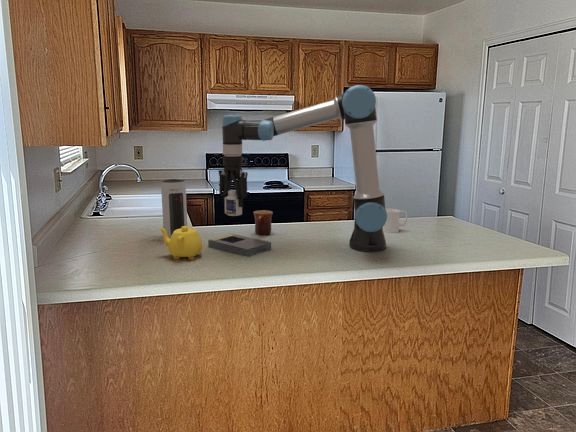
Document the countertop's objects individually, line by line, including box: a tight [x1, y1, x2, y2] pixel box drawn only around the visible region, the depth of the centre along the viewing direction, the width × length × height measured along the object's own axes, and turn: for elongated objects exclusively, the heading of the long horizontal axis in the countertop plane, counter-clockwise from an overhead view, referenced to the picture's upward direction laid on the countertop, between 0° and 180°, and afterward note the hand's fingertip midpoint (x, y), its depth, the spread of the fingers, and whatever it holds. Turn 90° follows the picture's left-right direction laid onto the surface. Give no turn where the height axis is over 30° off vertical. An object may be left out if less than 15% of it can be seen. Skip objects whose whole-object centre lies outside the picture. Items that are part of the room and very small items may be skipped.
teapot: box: [158, 225, 203, 261], centre depth 185 cm, size 14×14×12 cm
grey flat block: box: [207, 233, 272, 258], centre depth 198 cm, size 22×14×3 cm, turn 51°
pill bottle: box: [226, 189, 238, 217], centre depth 192 cm, size 5×5×10 cm
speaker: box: [160, 178, 188, 239], centre depth 210 cm, size 11×10×26 cm
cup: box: [383, 208, 408, 234], centre depth 230 cm, size 8×12×10 cm
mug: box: [253, 209, 274, 236], centre depth 220 cm, size 12×9×10 cm
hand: (233, 213), depth 193 cm, fingers closed on pill bottle, 5 cm apart
